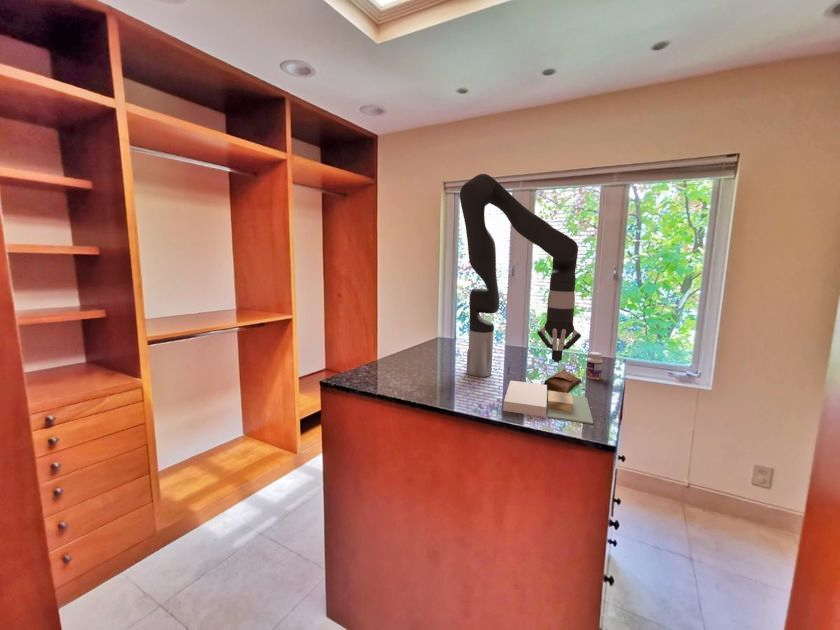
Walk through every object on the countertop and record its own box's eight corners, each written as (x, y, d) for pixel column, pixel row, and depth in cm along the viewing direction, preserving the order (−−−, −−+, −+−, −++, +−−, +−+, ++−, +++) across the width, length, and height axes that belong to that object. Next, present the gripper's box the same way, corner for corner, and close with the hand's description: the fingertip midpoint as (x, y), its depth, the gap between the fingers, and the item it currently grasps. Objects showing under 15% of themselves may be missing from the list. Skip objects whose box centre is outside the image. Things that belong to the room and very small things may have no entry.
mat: (547, 417, 106) (547, 416, 106) (547, 393, 125) (547, 392, 125) (593, 424, 103) (593, 422, 102) (586, 398, 121) (586, 397, 121)
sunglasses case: (568, 393, 125) (559, 375, 126) (549, 399, 129) (541, 381, 130) (583, 380, 139) (575, 364, 140) (566, 386, 143) (558, 370, 144)
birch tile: (547, 408, 112) (548, 400, 111) (548, 398, 120) (548, 390, 120) (572, 412, 109) (573, 404, 109) (571, 401, 118) (571, 393, 117)
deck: (503, 410, 110) (503, 401, 110) (509, 388, 129) (510, 380, 129) (545, 417, 107) (546, 407, 106) (546, 393, 125) (546, 384, 125)
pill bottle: (582, 375, 146) (585, 351, 144) (596, 375, 146) (598, 351, 144) (590, 379, 140) (592, 355, 139) (603, 379, 141) (606, 354, 139)
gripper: (537, 306, 109) (533, 362, 112) (586, 308, 105) (581, 367, 108) (537, 303, 116) (534, 356, 119) (583, 305, 112) (578, 360, 115)
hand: (556, 361), depth 114 cm, fingers closed
